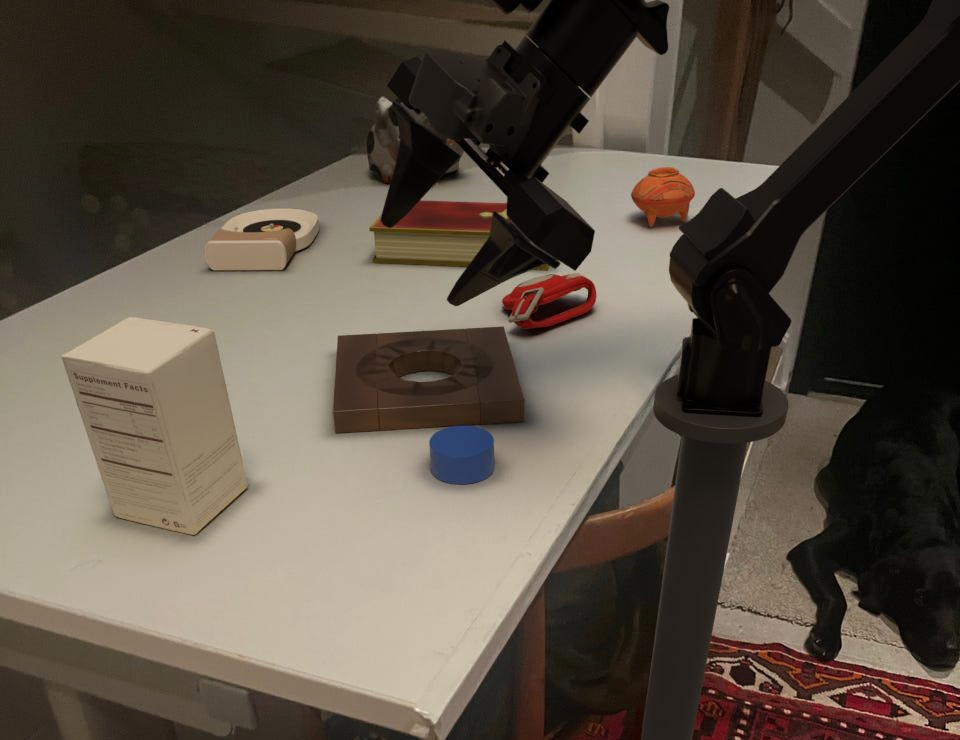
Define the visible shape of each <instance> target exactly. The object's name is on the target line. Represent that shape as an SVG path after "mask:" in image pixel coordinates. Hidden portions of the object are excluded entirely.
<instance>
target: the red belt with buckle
mask: <svg viewBox="0 0 960 740" xmlns="http://www.w3.org/2000/svg"><path fill="white" fill-rule="evenodd" d="M583 288H584V289H586V290H587V297H586V299H585V301H584V302H583V303H582V304H580V305H578V306H575V307H573V308H570V309H567V310H564V311H562V312H560V313H557V314H554V315H552V316H549V317H546V318H543V319H541V320H538V321H533V320H532V318H531V315H532V314H533V313H537V311H538V310H539V309H538V306H542V305H547V304H549V303H552V302H553V301H556V300H558V299H560V298H562V297H565V296H566V295H569V294H571V293H573V292H577V291H580V290H582V289H583ZM596 300H597V289H596V285H595V283H594V282H593V281H592V280H591V279H589V278H588V277H586V276H585V275H582V274H581V273H579V272H574V273H568V274H565V275H560V274H553V273H552V274H551V273H550V274H544V275H540V276H536V277H533V278H530V279H528V280H524V281H523V282H521V283H519V284H518V285H516V286H515V287H514V288H513V289H512V290H511V292H510V293H508V294H507V295H505V296H504V297H503V298H502V299H501V303H502V305H503V308H504V309H505V310H507V311H511V314H510V315H509V317H508V319H507V321H508V323H514V324H515V325H516V326H517V327H518V328H521V329H523V330H529V329H539V328H546V327H550V326H554V325H556V324H560V323H563V322H565V321H568V320H571V319H572V318H575V317H579V316H580V315H583V314H586V313H588V312H590V310H591V309H592V308H593V307H594V306H595V304H596Z"/></svg>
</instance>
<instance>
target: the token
mask: <svg viewBox="0 0 960 740" xmlns="http://www.w3.org/2000/svg"><path fill="white" fill-rule="evenodd" d="M428 443H429V460H430V462H429V463H430V473H431V474H432V475H433V476H434V477H435V478H436V479H438V480H440V481H442V482H444V483H447V484H453V485H469V484H475V483H478V482H481V481H484V480H486V479H488V478H489V477H490V476H491V475H492V474H493V473H494V470H495V439H494V436H493V435H492V433H491V432H489V431H488V430H486V429H484V428H482V427H478V426H475V425H474V426H472V425H458V426H447V427H445V428H442V429H440V430H438V431H436V432H434V433H433V434H432V436H430V438H429V442H428Z"/></svg>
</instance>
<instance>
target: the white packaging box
mask: <svg viewBox="0 0 960 740" xmlns="http://www.w3.org/2000/svg"><path fill="white" fill-rule="evenodd" d="M217 342H218V341H217V338H216V333H215V330H214V329H210V328H207V327H202V326H197V325H191V324H183V323H178V322H177V323H176V322H168V321H163V320H155V319H149V318H142V317H135V316H128V317H126V318H124V319H123V320H121V321H119V322H118V323H116V324H114V325H113V326H111V327H109V328H107V329H106V330H104V331H102V332H100V333H99V334H97V335H95V336H94V337H92V338H90V339H89V340H87V341H85V342H84V343H82V344H80V345H78V346H77V347H75V348H73V349H71V350H69V351H68V352H66V353H64V354H62V355H61V361H62V363H63V366H64V369H65V372H66V376H67V379H68V381H69V384H70V388H71V391H72V393H73V396H74V399H75V402H76V406H77V408H78V412H79V414H80V417H81V421H82V424H83V426H84V429H85V432H86V435H87V438H88V441H89V444H90V447H91V450H92V453H93V456H94V459H95V462H96V466H97V469H98V471H99V474H100V478H101V481H102V483H103V486H104V489H105V492H106V496H107V499H108V501H109V504H110V507H111V510H112V513H113V515H114V516H115V517H117V518H120V519H123V520H127V521H131V522H135V523H139V524H143V525H147V526H151V527H157V528H161V529H165V530H168V531H173V532H178V533H182V534H186V535H192V536H196V535H197V534H198V533H199V532H200V531H202V529H203V528H204V527H205V526H206V525H208V523H210V522H211V521H212V520H213V519H214V518H215V517H216V516H217V515H218V514H220V513H221V512H222V511H223V510H224V509H226V507H227V506H229V504H230V503H232V502H233V501H234V500H235V499H236V498H237V497H238V496H240V495H241V494H242V492H244V491H245V490H246V489H247V488H248V487H249V483H248V479H247V476H246V471H245V466H244V463H243V461H244V460H243V456H242V452H241V448H240V443H239V438H238V434H237V429H236V424H235V420H234V416H233V411H232V406H231V402H230V398H229V397H230V396H229V392H228V387H227V383H226V378H225V374H224V370H223V365H222V362H221V360H222V359H221V355H220V351H219V347H218V343H217Z"/></svg>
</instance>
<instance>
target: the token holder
mask: <svg viewBox="0 0 960 740" xmlns="http://www.w3.org/2000/svg"><path fill="white" fill-rule="evenodd" d="M336 342H337V343H336V358H335V372H334V387H333V399H332V400H333V402H332V417H333V424H334V425H333V426H334V432H335V433H336V434H343V433H358V432H374V431H375V432H377V431H390V430H391V431H392V430H409V429H424V428H426V429H427V428H439V427H440V428H441V427H453V426H472V425H474V426H475V425H491V424H492V425H493V424H505V423H506V424H507V423H508V424H509V423H525V418H526V417H525V415H526V410H525V409H526V399H525V396H524V392H523V389H522V386H521V382H520V379H519V375H518V372H517V368H516V365H515V361H514V357H513V354H512V350H511V347H510V344H509V340H508V337H507V333H506V329H505V327H504V326H486V327H467V328H452V329H451V328H450V329H434V330H433V329H432V330H415V331H397V332H380V333H361V334H345V335H344V334H343V335H338V336H337V341H336ZM430 371H431V372H438V373H439V372H440V373H446V374H448V375H450V376H448V377H445V378H441V379H437V380H427V381H417V380H415V381H414V380H407V379H402V378H401V377H404V376H405V375H409V374H413V373H416V372H430Z"/></svg>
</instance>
